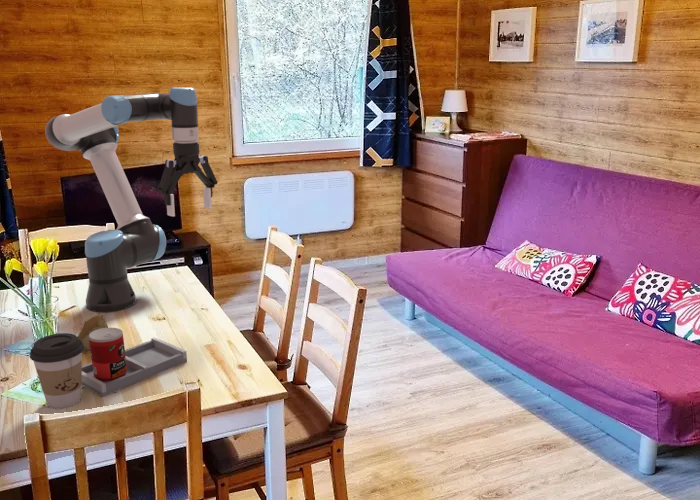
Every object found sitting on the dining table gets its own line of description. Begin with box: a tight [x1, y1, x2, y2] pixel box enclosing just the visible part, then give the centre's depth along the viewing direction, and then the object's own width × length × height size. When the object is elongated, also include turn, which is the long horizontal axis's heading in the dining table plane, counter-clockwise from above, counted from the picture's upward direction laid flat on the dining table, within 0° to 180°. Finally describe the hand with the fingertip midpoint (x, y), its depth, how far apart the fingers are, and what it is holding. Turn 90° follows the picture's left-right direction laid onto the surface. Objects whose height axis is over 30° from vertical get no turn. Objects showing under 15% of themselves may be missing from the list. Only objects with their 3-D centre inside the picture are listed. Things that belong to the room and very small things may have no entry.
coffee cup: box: [29, 332, 84, 410], centre depth 148 cm, size 11×11×15 cm
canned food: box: [89, 327, 127, 381], centre depth 159 cm, size 8×8×11 cm
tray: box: [82, 337, 188, 398], centre depth 165 cm, size 14×24×3 cm, turn 141°
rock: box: [76, 315, 109, 354], centre depth 177 cm, size 11×9×10 cm
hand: (189, 211), depth 198 cm, fingers open, 13 cm apart
